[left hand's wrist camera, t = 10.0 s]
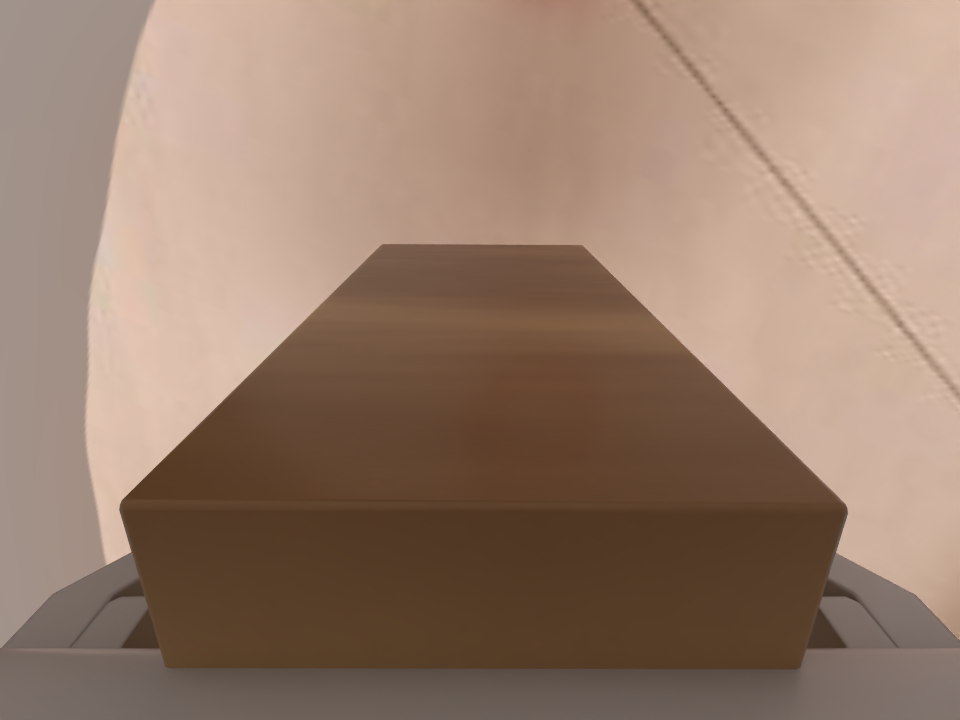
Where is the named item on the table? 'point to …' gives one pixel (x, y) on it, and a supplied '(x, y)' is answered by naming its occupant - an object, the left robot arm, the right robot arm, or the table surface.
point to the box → (482, 488)
